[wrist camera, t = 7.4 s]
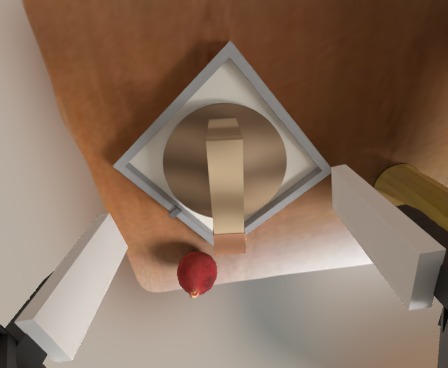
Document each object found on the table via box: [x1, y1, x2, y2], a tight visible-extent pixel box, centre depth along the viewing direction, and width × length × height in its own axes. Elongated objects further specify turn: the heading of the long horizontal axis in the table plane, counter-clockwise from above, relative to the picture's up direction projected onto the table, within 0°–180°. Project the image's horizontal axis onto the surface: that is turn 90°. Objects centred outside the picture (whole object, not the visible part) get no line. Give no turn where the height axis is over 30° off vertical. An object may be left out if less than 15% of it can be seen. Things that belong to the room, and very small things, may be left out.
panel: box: [113, 40, 331, 246], centre depth 30 cm, size 19×20×3 cm
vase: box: [374, 164, 448, 231], centre depth 27 cm, size 6×6×14 cm
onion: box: [177, 251, 217, 299], centre depth 35 cm, size 6×6×8 cm
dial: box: [163, 103, 287, 255], centre depth 26 cm, size 15×15×9 cm
